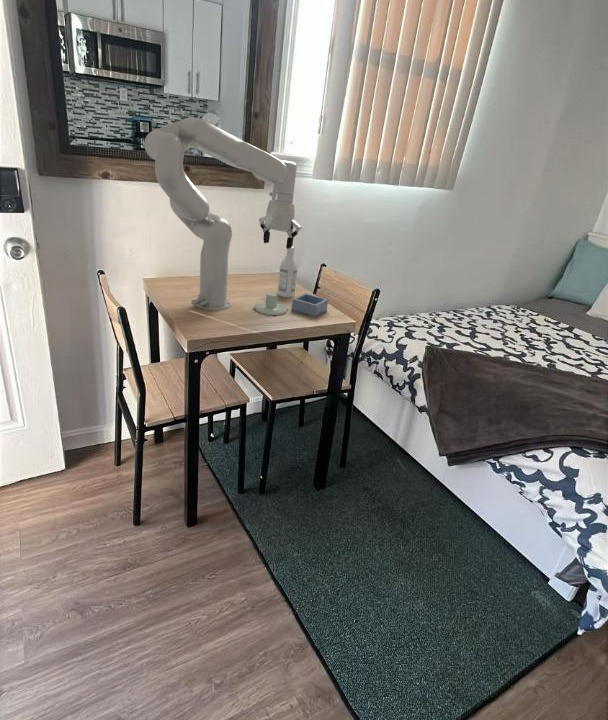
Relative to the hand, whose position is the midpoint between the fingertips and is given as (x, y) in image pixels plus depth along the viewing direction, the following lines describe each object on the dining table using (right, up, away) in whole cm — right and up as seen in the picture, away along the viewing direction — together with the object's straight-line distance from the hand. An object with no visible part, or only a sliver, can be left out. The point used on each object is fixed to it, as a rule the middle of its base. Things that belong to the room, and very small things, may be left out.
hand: (277, 245), depth 170 cm
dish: (+12, -25, +1) cm, 28 cm away
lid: (-2, -25, -4) cm, 25 cm away
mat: (-2, -25, -3) cm, 25 cm away
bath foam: (+3, -17, +15) cm, 23 cm away
